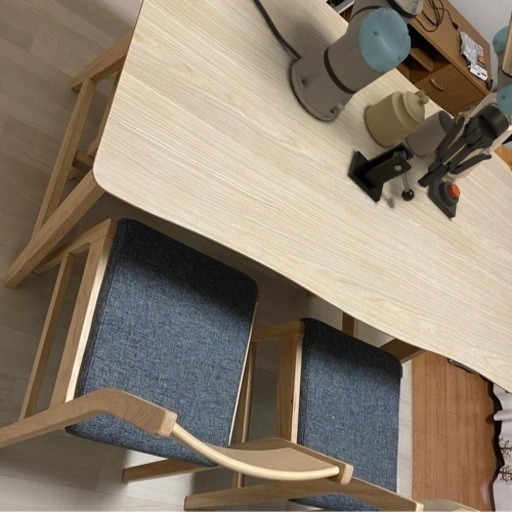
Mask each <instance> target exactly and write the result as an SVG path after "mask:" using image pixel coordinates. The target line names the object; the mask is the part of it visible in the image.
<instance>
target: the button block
mask: <svg viewBox="0 0 512 512" xmlns="http://www.w3.org/2000/svg"><path fill="white" fill-rule="evenodd" d="M452 184H453V182H452V181H450V180H444V179H443V177H442V178H441V179H440V180H438V181H437V180H434V181H433V182H432V183H431V184H429V185H428V193H427V196H428V198H429V199H430V200H431V201H432V202H433V203H434V204H435V205H436V206H437V207H438V208H439V209H440V210H441V211H442V212H443V213H444V214H445V215H446V216H447V217H448V218H449V219H453V218H455V217H456V216H457V207H458V203H459V201H460V196H459V197H456V198H454V199H452V198H451V197H450V196H449V194H448V191H447V187H448V186H450V185H452Z"/></svg>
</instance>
